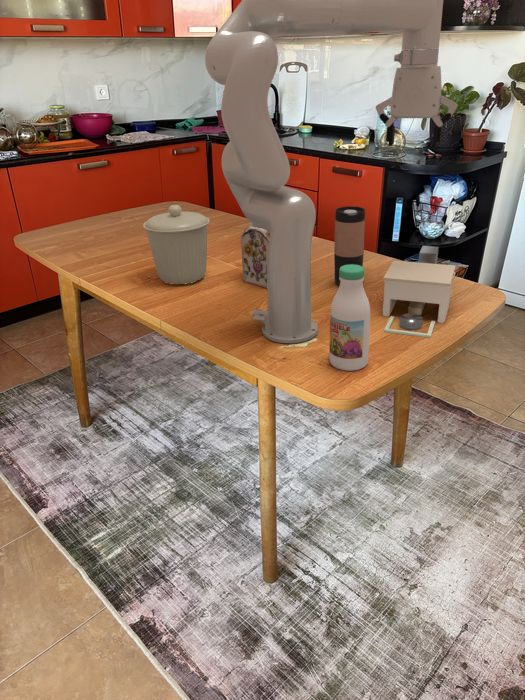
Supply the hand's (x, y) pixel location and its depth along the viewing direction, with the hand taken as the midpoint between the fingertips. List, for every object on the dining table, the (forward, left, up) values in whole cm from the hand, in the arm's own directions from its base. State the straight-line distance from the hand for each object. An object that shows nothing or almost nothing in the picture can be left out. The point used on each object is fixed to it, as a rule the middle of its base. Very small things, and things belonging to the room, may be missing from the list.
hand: (412, 145), depth 125 cm
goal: (+5, -18, -36) cm, 41 cm away
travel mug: (-15, +5, -36) cm, 40 cm away
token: (+5, -17, -36) cm, 41 cm away
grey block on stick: (+5, 0, -36) cm, 37 cm away
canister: (-61, -4, -36) cm, 71 cm away
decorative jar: (-36, +2, -37) cm, 51 cm away
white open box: (+5, -8, -36) cm, 37 cm away
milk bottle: (-4, -38, -36) cm, 53 cm away
